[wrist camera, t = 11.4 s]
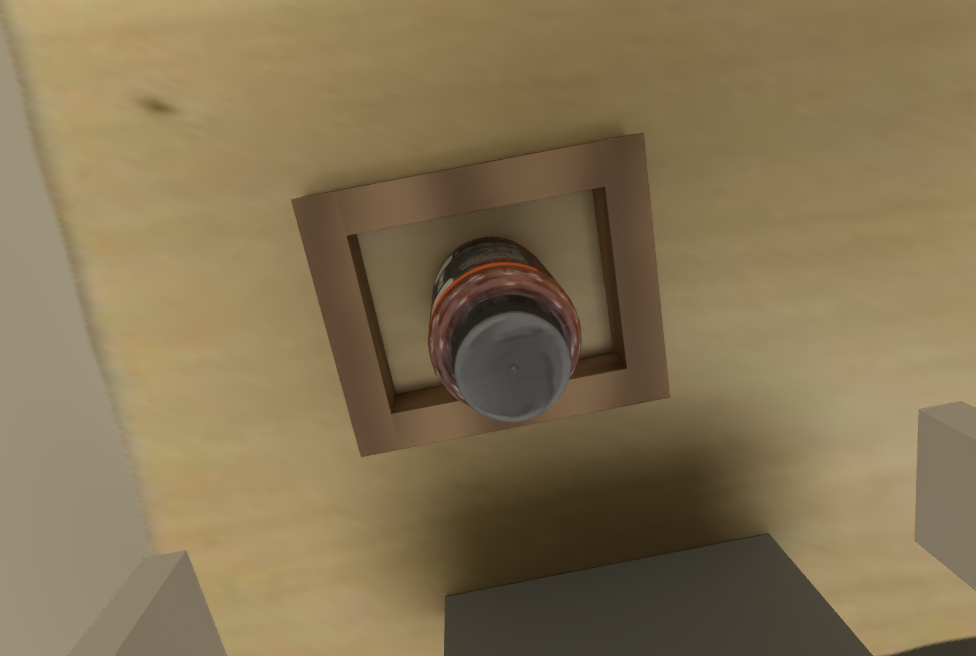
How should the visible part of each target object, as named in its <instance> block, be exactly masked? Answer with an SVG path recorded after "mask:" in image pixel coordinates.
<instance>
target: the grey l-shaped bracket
mask: <svg viewBox="0 0 976 656" xmlns="http://www.w3.org/2000/svg"><path fill="white" fill-rule="evenodd" d="M444 656H873V655H872V654H871V653H870V652H869V650H868V649H867V648H866V647H865V646H864V645H863V643H862V642H861V641H860V640H859V639H858V638H857V636H856V635H855V634H854V633H853V632H852V630H851V629H850V628H849V627H848V626H847V625H846V623H845V622H844V621H843V620H842V619H841V618H840V616H839V615H838V614H837V613H836V612H835V611H834V609H833V608H832V607H831V606H830V605H829V603H828V602H827V601H826V600H825V599H824V598H823V596H822V595H821V594H820V593H819V592H818V591H817V589H816V588H815V587H814V586H813V585H812V584H811V582H810V581H809V580H808V579H807V578H806V576H805V575H804V574H803V573H802V572H801V571H800V569H799V568H798V567H797V566H796V565H795V564H794V562H793V561H792V560H791V559H790V558H789V557H788V555H787V554H786V553H785V552H784V551H783V550H782V548H781V547H780V546H779V545H778V544H777V542H776V541H775V540H774V539H773V538H772V537H771V535H770V534H765V535H760V536H755V537H750V538H745V539H740V540H735V541H729V542H724V543H719V544H714V545H709V546H704V547H699V548H693V549H688V550H683V551H678V552H673V553H668V554H663V555H657V556H652V557H647V558H642V559H637V560H632V561H627V562H622V563H616V564H611V565H606V566H601V567H596V568H591V569H586V570H580V571H575V572H570V573H565V574H560V575H555V576H550V577H544V578H539V579H534V580H529V581H524V582H519V583H514V584H508V585H503V586H498V587H493V588H488V589H483V590H478V591H473V592H467V593H462V594H457V595H452V596H447V597H445V634H444Z"/></svg>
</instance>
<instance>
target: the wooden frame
mask: <svg viewBox="0 0 976 656" xmlns="http://www.w3.org/2000/svg"><path fill="white" fill-rule="evenodd" d="M590 189H593V194H594V202H595V209H596V217H597V225H598V233H599V241H600V249H601V257H602V265H603V273H604V280H605V288H606V296H607V304H608V312H609V320H610V328H611V336H612V344H613V351H614V353H611V354H605V355H600V356H595V357H590V358H585V359H579V360H578V362H577V365H576V367H575V370H574V372H573V374H572V375H571V377H570V378H569V381H568V384H567V386H566V388H565V391H564V392H563V394H562V395H561V397H560V398H559V399H558V401H557V402H556V403H555V404H554V405H553V406H552V407H550V408H549V409H547V410H546V411H545V412H544V413H543V414H540V415H537V416H536V417H533V418H530V419H527V420H523V421H519V422H504V421H497V420H494V419H491V418H488V417H486V416H484V415H482V414H480V413H479V412H477V411H476V410H474V409H473V408H472V407H469V406H467V405H465V404H464V403H462V402H461V401H459V400H458V399H456V398H455V397H454V396H453V395H452V394H451V393H450V392H449V391H448V390H447V389H446V388H445V387H444V386H439V387H434V388H428V389H423V390H418V391H413V392H408V393H402V394H397V395H396V394H395V390H394V386H393V382H392V378H391V374H390V370H389V366H388V362H387V358H386V353H385V349H384V345H383V341H382V337H381V333H380V329H379V325H378V321H377V317H376V313H375V309H374V304H373V300H372V296H371V292H370V288H369V284H368V280H367V276H366V272H365V268H364V264H363V260H362V255H361V251H360V247H359V243H358V239H357V235H356V234H358V233H364V232H369V231H374V230H379V229H385V228H390V227H395V226H400V225H406V224H411V223H416V222H421V221H427V220H432V219H437V218H442V217H448V216H453V215H458V214H463V213H469V212H474V211H479V210H485V209H490V208H495V207H500V206H506V205H511V204H516V203H521V202H527V201H532V200H537V199H542V198H548V197H553V196H558V195H563V194H569V193H574V192H579V191H585V190H590ZM291 201H292V205H293V209H294V212H295V216H296V220H297V223H298V227H299V231H300V234H301V238H302V242H303V245H304V249H305V253H306V256H307V260H308V264H309V267H310V271H311V275H312V278H313V282H314V286H315V289H316V293H317V297H318V300H319V304H320V308H321V312H322V315H323V319H324V323H325V326H326V330H327V334H328V337H329V341H330V345H331V348H332V352H333V356H334V359H335V363H336V367H337V370H338V374H339V378H340V381H341V385H342V389H343V392H344V396H345V400H346V403H347V407H348V411H349V414H350V418H351V422H352V425H353V429H354V433H355V436H356V440H357V444H358V447H359V451H360V455H361V457H364V456H369V455H374V454H379V453H385V452H390V451H395V450H400V449H405V448H411V447H416V446H421V445H426V444H431V443H437V442H442V441H447V440H452V439H457V438H462V437H468V436H473V435H478V434H483V433H488V432H494V431H499V430H504V429H509V428H514V427H520V426H525V425H530V424H535V423H540V422H546V421H551V420H556V419H561V418H566V417H571V416H577V415H582V414H587V413H592V412H597V411H603V410H608V409H613V408H618V407H623V406H629V405H634V404H639V403H644V402H649V401H654V400H660V399H665V398H670V394H669V384H668V374H667V364H666V354H665V344H664V334H663V324H662V314H661V304H660V294H659V284H658V274H657V264H656V254H655V244H654V234H653V224H652V214H651V204H650V194H649V184H648V174H647V164H646V154H645V144H644V134H643V133H640V134H634V135H627V136H622V137H616V138H611V139H606V140H601V141H595V142H590V143H585V144H580V145H574V146H569V147H564V148H558V149H553V150H548V151H543V152H537V153H532V154H527V155H521V156H516V157H511V158H506V159H500V160H495V161H490V162H485V163H479V164H474V165H469V166H463V167H458V168H453V169H448V170H442V171H437V172H432V173H426V174H421V175H416V176H411V177H405V178H400V179H395V180H390V181H384V182H379V183H374V184H368V185H363V186H358V187H353V188H347V189H342V190H337V191H331V192H326V193H321V194H316V195H310V196H305V197H301V198H297V199H292V200H291Z"/></svg>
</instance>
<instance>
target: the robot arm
mask: <svg viewBox="0 0 976 656" xmlns="http://www.w3.org/2000/svg"><path fill="white" fill-rule="evenodd" d="M915 541H916V542H917V543H918V544H919V545H920V546H922V547H923V548H924V549H925V550H927V551H928V552H929V553H930V554H931V555H933V556H934V557H935V558H936V559H937V560H939V561H940V562H941V563H942V564H944V565H945V566H946V567H947V568H948V569H950V570H951V571H952V572H953V573H955V574H956V575H957V576H958V577H959V578H961V579H962V580H963V581H964V582H965V583H967V584H968V585H969V586H970V587H972V588H973V589H974V590H975V591H976V408H975V407H973V406H970V405H968V404H966V403H964V402H962V401H959V402H954V403H949V404H944V405H938V406H933V407H928V408H923V409H919V415H918V447H917V479H916V511H915ZM68 656H227V654H226V652H225V649H224V646H223V644H222V641H221V639H220V636H219V634H218V631H217V628H216V626H215V623H214V621H213V618H212V615H211V613H210V610H209V608H208V605H207V603H206V600H205V597H204V595H203V592H202V590H201V587H200V584H199V582H198V579H197V577H196V574H195V572H194V569H193V566H192V564H191V561H190V559H189V556H188V553H187V551H186V550H185V551H180V552H174V553H169V554H164V555H159V556H154V557H148V558H143V559H142V561H141V562H140V563H139V565H138V566H137V567H136V568H135V570H134V571H133V572H132V574H131V575H130V576H129V577H128V579H127V580H126V581H125V582H124V584H123V585H122V586H121V588H120V589H119V590H118V591H117V593H116V594H115V595H114V597H113V598H112V599H111V600H110V602H109V603H108V604H107V605H106V607H105V608H104V609H103V611H102V612H101V613H100V614H99V616H98V617H97V618H96V619H95V621H94V622H93V623H92V625H91V626H90V627H89V628H88V630H87V631H86V632H85V634H84V635H83V636H82V637H81V639H80V640H79V641H78V643H77V644H76V645H75V646H74V648H73V649H72V650H71V651H70V653H69V654H68Z"/></svg>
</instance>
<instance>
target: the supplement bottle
mask: <svg viewBox="0 0 976 656" xmlns="http://www.w3.org/2000/svg"><path fill="white" fill-rule="evenodd" d="M428 346H429V353H430V357H431V362H432V365H433V368H434V371H435V374H436V375H437V377H438V378H439V380H440V381H441V383H442V384H443V385H444V387H445V388H446V389H447V390H448V391H449V392H450V393H451V394H452V395H453V396H454V397H455V398H456V399H458V400H459V401H461V402H462V403H464V404H465V405H467V406H469V407H472V408H473V409H474V410H476V411H477V412H479V413H480V414H482V415H484V416H486V417H488V418H491V419H494V420H497V421H504V422H519V421H523V420H527V419H530V418H533V417H536V416H537V415H540V414H543V413H544V412H545V411H546V410H547V409H549V408H550V407H552V406H553V405H554V404H555V403H556V402H557V401H558V399H559V398H560V397H561V395H562V394H563V392H564V391H565V388H566V386H567V384H568V381H569V378H570V377H571V375H572V374H573V372H574V370H575V367H576V365H577V362H578V358H579V356H580V351H581V328H580V322H579V318H578V315H577V313H576V310H575V307H574V305H573V303H572V302H571V300H570V298H569V296H568V295H567V294H566V293H565V291H564V290H563V288H562V287H561V286H560V285H559V284H558V282H556V280H555V279H554V278H553V277H552V276H551V274H550V273H549V272H548V270H547V269H546V268H545V267H544V266H543V265H542V264H541V262H540V261H539V260H538V259H537V258H536V257H535V256H534V255H533V254H532V253H530V252H529V251H528V250H527V249H525V248H524V247H522V246H521V245H519V244H517V243H515V242H513V241H510V240H507V239H500V238H483V239H478V240H474V241H471V242H468V243H466V244H465V245H463V246H461V247H460V248H458V249H457V250H456V251H454V252H453V253H452V254H451V255H450V256H449V257H448V258H447V260H446V261H445V262H444V264H443V265H442V267H441V269H440V270H439V273H438V275H437V278H436V281H435V284H434V289H433V296H432V307H431V314H430V322H429V335H428Z"/></svg>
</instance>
